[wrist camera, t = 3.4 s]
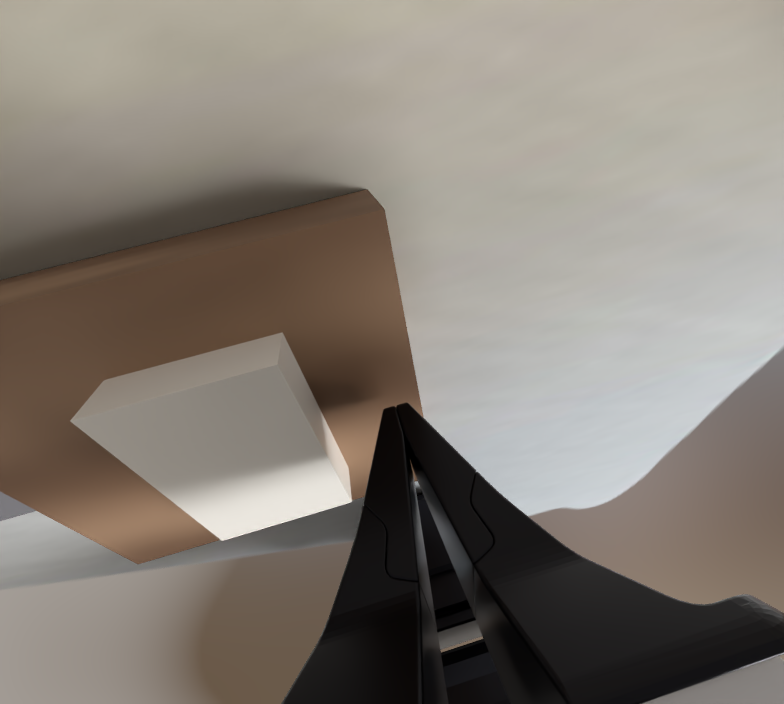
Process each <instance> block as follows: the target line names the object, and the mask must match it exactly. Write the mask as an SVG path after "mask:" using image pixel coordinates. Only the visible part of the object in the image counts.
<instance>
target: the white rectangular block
mask: <svg viewBox="0 0 784 704" xmlns="http://www.w3.org/2000/svg"><path fill="white" fill-rule="evenodd" d="M70 422H72V423H73V424H74V425H75V426H77V427H78V428H79V429H81V430H82V431H83V432H84V433H86V434H87V435H88V436H89V437H91V438H92V439H93V440H95V441H96V442H97V443H98V444H100V445H101V446H102V447H103V448H105V449H106V450H107V451H109V452H110V453H111V454H112V455H114V456H115V457H116V458H117V459H119V460H120V461H121V462H122V463H124V464H125V465H126V466H128V467H129V468H130V469H131V470H133V471H134V472H135V473H136V474H138V475H139V476H140V477H142V478H143V479H144V480H145V481H147V482H148V483H149V484H150V485H152V486H153V487H154V488H156V489H157V490H158V491H159V492H161V493H162V494H163V495H164V496H166V497H167V498H168V499H170V500H171V501H172V502H173V503H175V504H176V505H177V506H178V507H180V508H181V509H182V510H183V511H185V512H186V513H187V514H189V515H190V516H191V517H192V518H194V519H195V520H196V521H197V522H199V523H200V524H201V525H203V526H204V527H205V528H206V529H208V530H209V531H210V532H211V533H213V534H214V535H215V536H217V537H218V538H219V539H220V540H222V541H224V540H227V539H231V538H234V537H237V536H241V535H244V534H247V533H251V532H254V531H257V530H261V529H264V528H267V527H271V526H274V525H277V524H281V523H284V522H287V521H291V520H294V519H297V518H301V517H304V516H307V515H311V514H314V513H317V512H321V511H324V510H328V509H331V508H334V507H338V506H341V505H344V504H348V503H351V502H352V496H351V486H350V477H349V468H348V466H347V464H346V461H345V459H344V457H343V455H342V453H341V451H340V449H339V447H338V445H337V443H336V441H335V439H334V437H333V435H332V433H331V431H330V429H329V427H328V425H327V423H326V420H325V418H324V416H323V414H322V412H321V410H320V408H319V406H318V404H317V402H316V400H315V398H314V396H313V394H312V392H311V390H310V388H309V386H308V384H307V382H306V379H305V377H304V375H303V373H302V371H301V369H300V367H299V365H298V363H297V361H296V359H295V357H294V355H293V353H292V351H291V349H290V347H289V345H288V343H287V341H286V338H285V336H284V334H283V332H282V333H278V334H274V335H270V336H267V337H263V338H259V339H256V340H252V341H248V342H244V343H241V344H237V345H233V346H229V347H226V348H222V349H218V350H214V351H211V352H207V353H203V354H200V355H196V356H192V357H188V358H185V359H181V360H177V361H173V362H170V363H166V364H162V365H158V366H155V367H151V368H147V369H144V370H140V371H136V372H132V373H129V374H125V375H121V376H117V377H114V378H110V379H106V380H104V381H103V382H102V383H101V384H100V386H99V387H98V388H97V389H96V390H95V392H94V393H93V394H92V395H91V396H90V398H89V399H88V400H87V401H86V402H85V404H84V405H83V406H82V407H81V408H80V410H79V411H78V412H77V413H76V414H75V416H74V417H73V418H72V419H71V420H70Z"/></svg>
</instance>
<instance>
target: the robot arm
mask: <svg viewBox="0 0 784 704" xmlns="http://www.w3.org/2000/svg"><path fill="white" fill-rule="evenodd" d="M411 464H412V465H411ZM412 468H413V470H412ZM413 471H414V473H415V476H416V478H417V481H418V483H419V485H420V488H421V490H422V493H423V495H420V496H417V494H416V488H415V481H414V475H413ZM363 505H364V506H362V510H361V515H360V519H359V524H358V528H357V532H356V536H355V539H354V543H353V546H352V549H351V553H350V556H349V559H348V562H347V565H346V568H345V571H344V574H343V577H342V580H341V583H340V586H339V589H338V592H337V595H336V598H335V601H334V604H333V607H332V610H331V612H330V615H329V618H328V621H327V623H326V625H325V628H324V630H323V632H322V635H321V637H320V639H319V641H318V643H317V644H316V646H315V648H314V650H313V651H312V653H311V655H310V656H309V658H308V660H307V661H306V663H305V665H304V666H303V668H302V670H301V671H300V673H299V675H298V677H297V678H296V680H295V682H294V683H293V685H292V687H291V688H290V690H289V692H288V693H287V695H286V697H285V698H284V700H283V702H282V703H281V704H784V661H783V659H782V658H781V657H780V655H783V654H784V613H782V612H781V611H779V610H778V609H776V608H774V607H772V606H770V605H768V604H767V603H765V602H763V601H761V600H759V599H757V598H755V597H754V596H751V595H748V594H745V595H737V596H734V597H731V598H727V599H724V600H721V601H718V602H715V603H712V604H705V605H703V604H692V603H688V602H684V601H680V600H677V599H675V598H672V597H670V596H667V595H664V594H663V593H660V592H658V591H656V590H654V589H652V588H650V587H647V586H645V585H643V584H641V583H638V582H636V581H634V580H632V579H630V578H627V577H625V576H623V575H621V574H619V573H616V572H614V571H612V570H610V569H608V568H606V567H603V566H601V565H599V564H597V563H595V562H593V561H590V560H588V559H586V558H584V557H582V556H581V555H579V554H577V553H575V552H574V551H572V550H570V549H569V548H568V547H566V546H565V545H564V544H562V543H561V542H560V541H558V540H557V539H555V538H554V537H553V536H552V535H551V534H549V533H548V532H547V531H545V530H544V529H543V528H542V527H541V526H539V525H538V524H537V523H535V522H534V521H533V520H532V519H530V518H529V517H528V516H527V515H525V514H524V513H523V512H522V511H520V510H519V509H518V508H517V507H516V506H514V505H513V504H512V503H511V502H510V501H508V500H507V499H506V498H505V497H504V496H502V495H501V494H500V493H499V492H498V491H497V490H496V489H495V488H494V487H493V486H492V485H491V484H489V483H488V482H487V481H486V480H485V479H484V478H483V477H482V476H481V475H480V474H479V473H478V472H476V470H475V469H474V468H473V467H472V466H471V465H470V464H469V463H468V462H467V461H466V460H465V459H464V458H463V457H462V456H461V455H460V454H459V453H458V452H457V451H456V450H455V449H454V448H453V447H452V446H451V445H450V444H449V443H448V442H447V441H446V440H445V439H444V438H443V437H442V436H441V435H440V434H439V433H438V432H437V431H436V430H435V429H434V428H433V427H432V426H431V425H430V424H429V423H428V422H427V421H426V420H425V419H424V418H423V417H422V416H421V415H420V414H419V413H418V412H417V411H416V410H415V409H414V408H413V407H412V406H411V405H410V404H409V403H407V402H406V403H402V404H399V405H397V406H396V407H395V406H391V407H388V408H385V409H383V412H382V417H381V421H380V426H379V431H378V436H377V440H376V445H375V450H374V454H373V459H372V464H371V468H370V473H369V478H368V483H367V487H366V492H365V497H364V501H363ZM481 636H483V639H481V640H478V641H475V642H473V643H469V644H466V645H463V646H460V647H457V648H454V649H451V650H448V651H445V652H442V653H441V651H440V650H441V649H444V648H447V647H450V646H453V645H456V644H460V643H462V642H466V641H468V640H472V639H475V638H478V637H481Z"/></svg>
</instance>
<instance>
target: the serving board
mask: <svg viewBox="0 0 784 704" xmlns="http://www.w3.org/2000/svg"><path fill="white" fill-rule="evenodd" d="M282 332H283V334H284V336H285V338H286V341H287V343H288V345H289V347H290V349H291V351H292V353H293V355H294V357H295V359H296V361H297V363H298V365H299V367H300V369H301V371H302V373H303V375H304V377H305V379H306V382H307V384H308V386H309V388H310V390H311V392H312V394H313V396H314V398H315V400H316V402H317V404H318V406H319V408H320V410H321V412H322V414H323V416H324V418H325V420H326V423H327V425H328V427H329V429H330V431H331V433H332V435H333V437H334V439H335V441H336V443H337V445H338V447H339V449H340V451H341V453H342V455H343V457H344V459H345V461H346V464H347V466H348V468H349V477H350V486H351V496H352V500H355V499H358V498H362V497H365V492H366V487H367V483H368V478H369V473H370V468H371V464H372V459H373V454H374V450H375V445H376V440H377V436H378V431H379V426H380V421H381V417H382V412H383V409H385V408H388V407H391V406H395V407H396V406H397V405H399V404H402V403H406V402H407V403H409V404H410V405H411V406H412V407H413V408H414V409H415V410H416V411H417V412H418V413H419V414H420V415H421V416H422V417H423V413H422V407H421V402H420V397H419V391H418V386H417V381H416V375H415V370H414V365H413V359H412V354H411V349H410V343H409V338H408V333H407V327H406V322H405V317H404V311H403V306H402V301H401V295H400V290H399V285H398V279H397V274H396V269H395V263H394V258H393V253H392V247H391V242H390V236H389V231H388V226H387V220H386V215H385V210H384V208H383V207H382V206H381V205H380V203H379V202H378V201H377V200H376V199H375V198H374V196H373V195H372V194H371V193H370V192H369V191H368V190H367V189H366V190H362V191H358V192H354V193H350V194H346V195H342V196H338V197H334V198H330V199H326V200H322V201H318V202H314V203H310V204H306V205H302V206H298V207H294V208H290V209H286V210H282V211H278V212H274V213H270V214H266V215H262V216H257V217H253V218H249V219H245V220H241V221H237V222H233V223H229V224H225V225H221V226H217V227H213V228H209V229H205V230H201V231H197V232H193V233H189V234H185V235H181V236H177V237H173V238H169V239H165V240H161V241H157V242H153V243H149V244H145V245H140V246H136V247H132V248H128V249H124V250H120V251H116V252H112V253H108V254H104V255H100V256H96V257H92V258H88V259H84V260H80V261H76V262H72V263H68V264H64V265H60V266H56V267H52V268H48V269H44V270H40V271H36V272H32V273H28V274H23V275H19V276H15V277H11V278H7V279H3V280H0V492H2V493H4V494H6V495H8V496H10V497H12V498H13V499H15V500H17V501H19V502H21V503H23V504H25V505H27V506H29V507H30V508H32V509H34V510H36V511H38V512H40V513H42V514H44V515H46V516H47V517H49V518H51V519H53V520H55V521H57V522H59V523H61V524H63V525H65V526H66V527H68V528H70V529H72V530H74V531H76V532H78V533H80V534H82V535H83V536H85V537H87V538H89V539H91V540H93V541H95V542H97V543H99V544H100V545H102V546H104V547H106V548H108V549H110V550H112V551H114V552H116V553H117V554H119V555H121V556H123V557H125V558H127V559H129V560H131V561H133V562H134V563H136V564H141V563H144V562H147V561H151V560H154V559H157V558H161V557H164V556H167V555H171V554H174V553H177V552H181V551H184V550H188V549H191V548H194V547H198V546H201V545H204V544H208V543H211V542H214V541H218V540H220V539H219V538H218V537H217V536H215V535H214V534H213V533H211V532H210V531H209V530H208V529H206V528H205V527H204V526H203V525H201V524H200V523H199V522H197V521H196V520H195V519H194V518H192V517H191V516H190V515H189V514H187V513H186V512H185V511H183V510H182V509H181V508H180V507H178V506H177V505H176V504H175V503H173V502H172V501H171V500H170V499H168V498H167V497H166V496H164V495H163V494H162V493H161V492H159V491H158V490H157V489H156V488H154V487H153V486H152V485H150V484H149V483H148V482H147V481H145V480H144V479H143V478H142V477H140V476H139V475H138V474H136V473H135V472H134V471H133V470H131V469H130V468H129V467H128V466H126V465H125V464H124V463H122V462H121V461H120V460H119V459H117V458H116V457H115V456H114V455H112V454H111V453H110V452H109V451H107V450H106V449H105V448H103V447H102V446H101V445H100V444H98V443H97V442H96V441H95V440H93V439H92V438H91V437H89V436H88V435H87V434H86V433H84V432H83V431H82V430H81V429H79V428H78V427H77V426H75V425H74V424H73V423H72V422H70V420H71V419H72V418H73V417H74V416H75V414H76V413H77V412H78V411H79V410H80V408H81V407H82V406H83V405H84V404H85V402H86V401H87V400H88V399H89V398H90V396H91V395H92V394H93V393H94V392H95V390H96V389H97V388H98V387H99V386H100V384H101V383H102V382H103V381H104V380H106V379H110V378H114V377H117V376H121V375H125V374H129V373H132V372H136V371H140V370H144V369H147V368H151V367H155V366H158V365H162V364H166V363H170V362H173V361H177V360H181V359H185V358H188V357H192V356H196V355H200V354H203V353H207V352H211V351H214V350H218V349H222V348H226V347H229V346H233V345H237V344H241V343H244V342H248V341H252V340H256V339H259V338H263V337H267V336H270V335H274V334H278V333H282ZM411 465H412V464H411ZM412 470H413V468H412ZM413 475H414V481H417V478H416V476H415V473H414V471H413Z"/></svg>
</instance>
